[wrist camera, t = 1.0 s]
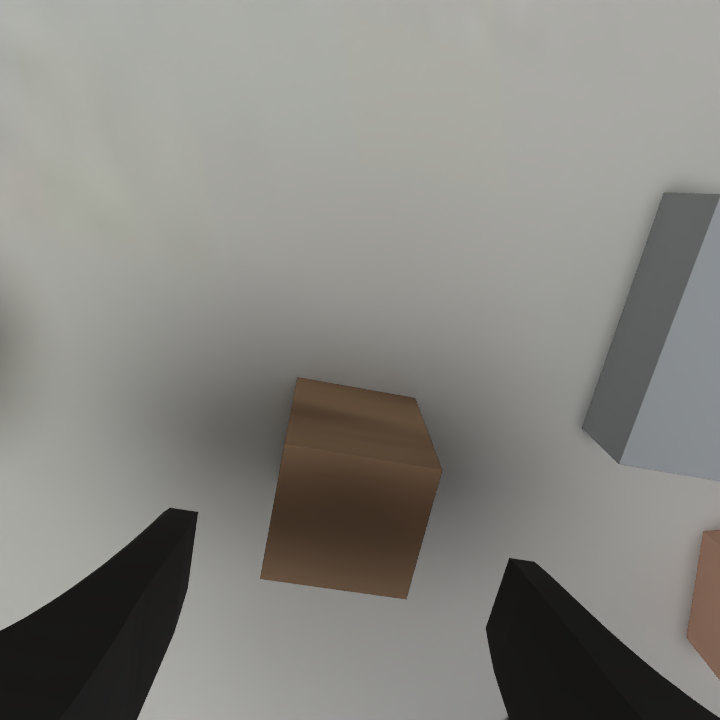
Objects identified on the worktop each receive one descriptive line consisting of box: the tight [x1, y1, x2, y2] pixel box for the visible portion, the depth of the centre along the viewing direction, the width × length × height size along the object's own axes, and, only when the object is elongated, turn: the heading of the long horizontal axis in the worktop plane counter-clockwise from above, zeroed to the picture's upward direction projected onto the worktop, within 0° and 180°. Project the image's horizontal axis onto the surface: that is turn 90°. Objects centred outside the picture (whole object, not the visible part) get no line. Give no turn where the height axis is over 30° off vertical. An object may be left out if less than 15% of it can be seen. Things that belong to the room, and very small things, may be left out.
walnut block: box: [260, 377, 442, 599], centre depth 17 cm, size 4×4×5 cm
